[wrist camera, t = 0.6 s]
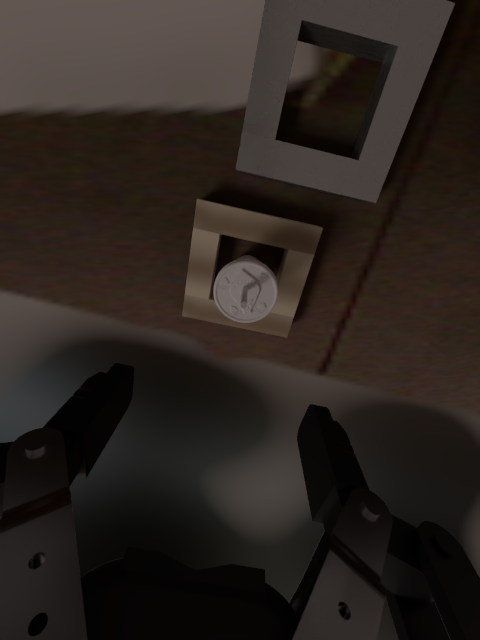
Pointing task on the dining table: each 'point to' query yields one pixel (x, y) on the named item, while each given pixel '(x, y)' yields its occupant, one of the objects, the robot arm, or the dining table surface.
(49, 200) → the dining table surface
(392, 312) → the dining table surface
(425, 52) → the ring
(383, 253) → the dining table surface
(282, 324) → the socket block
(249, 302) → the smoothie
